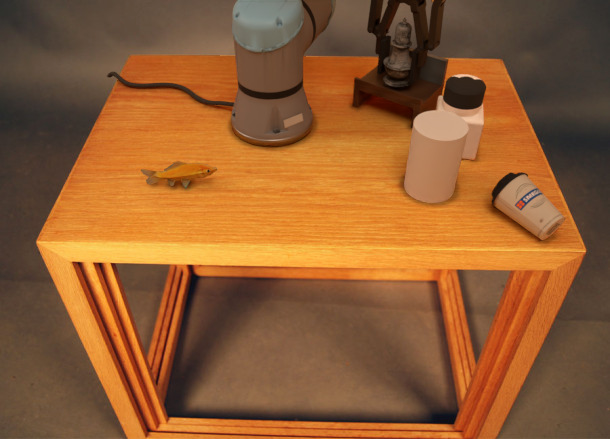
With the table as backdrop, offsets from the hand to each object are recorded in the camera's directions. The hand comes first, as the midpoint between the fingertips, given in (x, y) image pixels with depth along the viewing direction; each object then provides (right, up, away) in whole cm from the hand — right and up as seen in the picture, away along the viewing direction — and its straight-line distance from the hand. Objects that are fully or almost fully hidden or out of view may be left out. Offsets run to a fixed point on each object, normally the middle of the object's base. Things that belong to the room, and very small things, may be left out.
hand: (397, 75), depth 105 cm
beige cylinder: (+3, -22, -12) cm, 25 cm away
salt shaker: (0, -1, +1) cm, 1 cm away
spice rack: (+1, -5, +5) cm, 7 cm away
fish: (-38, -21, -12) cm, 45 cm away
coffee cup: (+19, -28, -23) cm, 41 cm away
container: (+9, -14, -4) cm, 17 cm away
